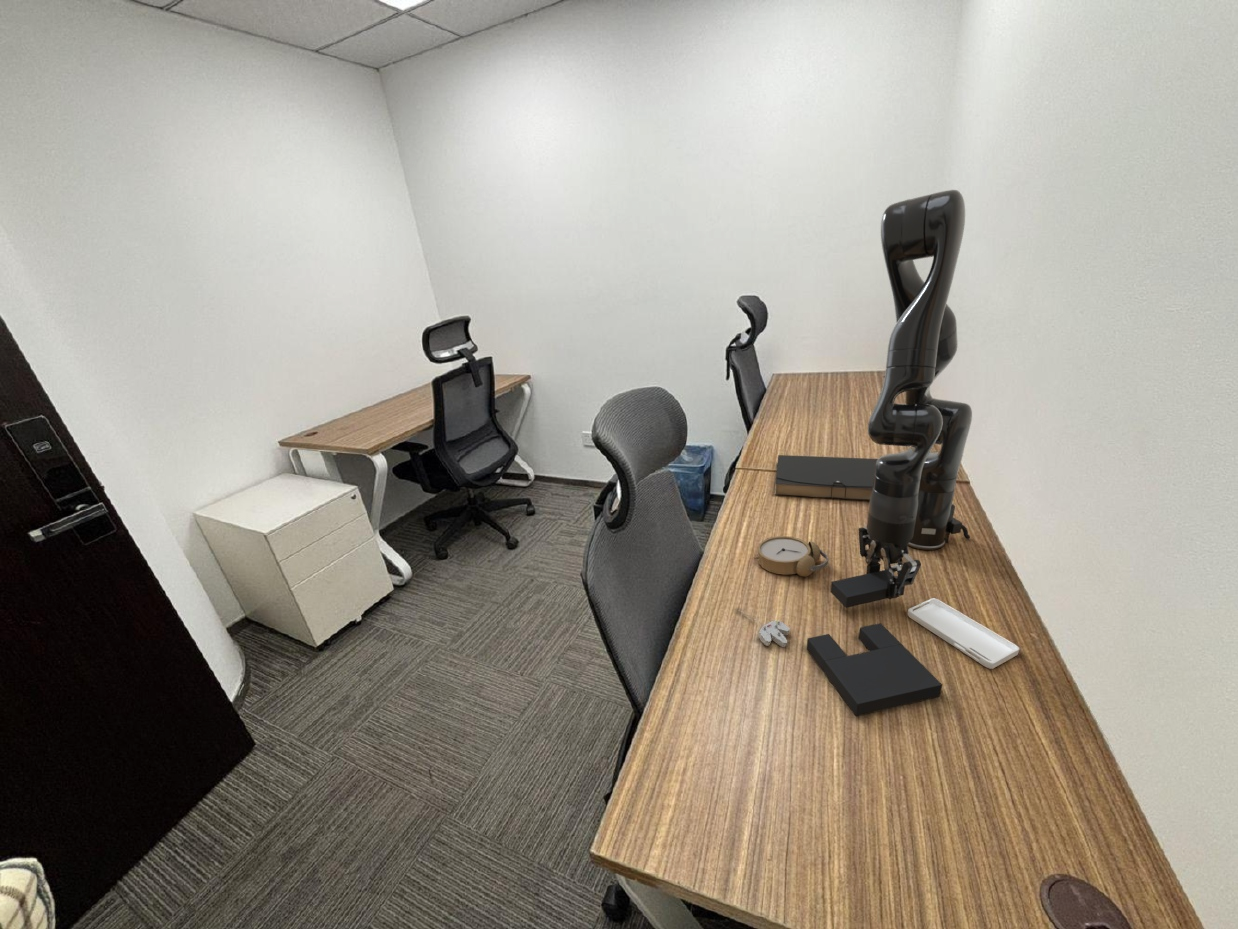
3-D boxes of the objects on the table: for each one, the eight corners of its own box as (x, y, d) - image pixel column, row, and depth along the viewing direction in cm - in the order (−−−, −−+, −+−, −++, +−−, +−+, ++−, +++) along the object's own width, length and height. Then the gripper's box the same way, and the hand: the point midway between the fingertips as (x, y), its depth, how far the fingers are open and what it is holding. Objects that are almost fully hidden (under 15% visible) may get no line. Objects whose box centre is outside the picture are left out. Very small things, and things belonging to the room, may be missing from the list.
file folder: (775, 482, 137) (778, 452, 158) (774, 495, 138) (778, 463, 159) (908, 490, 126) (892, 456, 147) (906, 504, 128) (891, 468, 148)
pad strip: (885, 579, 96) (886, 569, 95) (903, 595, 92) (905, 584, 91) (830, 592, 95) (831, 581, 94) (846, 608, 90) (847, 597, 89)
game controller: (781, 654, 84) (781, 642, 84) (722, 627, 92) (722, 616, 91) (794, 635, 88) (795, 624, 87) (737, 611, 96) (737, 600, 95)
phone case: (1019, 654, 80) (933, 602, 93) (1021, 647, 79) (934, 596, 92) (990, 670, 78) (905, 615, 90) (991, 664, 77) (906, 609, 90)
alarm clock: (765, 532, 116) (832, 537, 107) (768, 550, 117) (834, 556, 108) (748, 556, 107) (820, 563, 98) (752, 576, 109) (822, 584, 100)
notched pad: (879, 634, 87) (880, 623, 86) (939, 696, 74) (942, 684, 73) (806, 649, 85) (807, 638, 84) (855, 716, 72) (857, 704, 71)
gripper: (942, 527, 81) (927, 608, 88) (883, 491, 94) (874, 564, 101) (902, 535, 80) (890, 616, 87) (848, 498, 93) (841, 571, 100)
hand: (881, 588), depth 94 cm, fingers closed on pad strip, 5 cm apart
